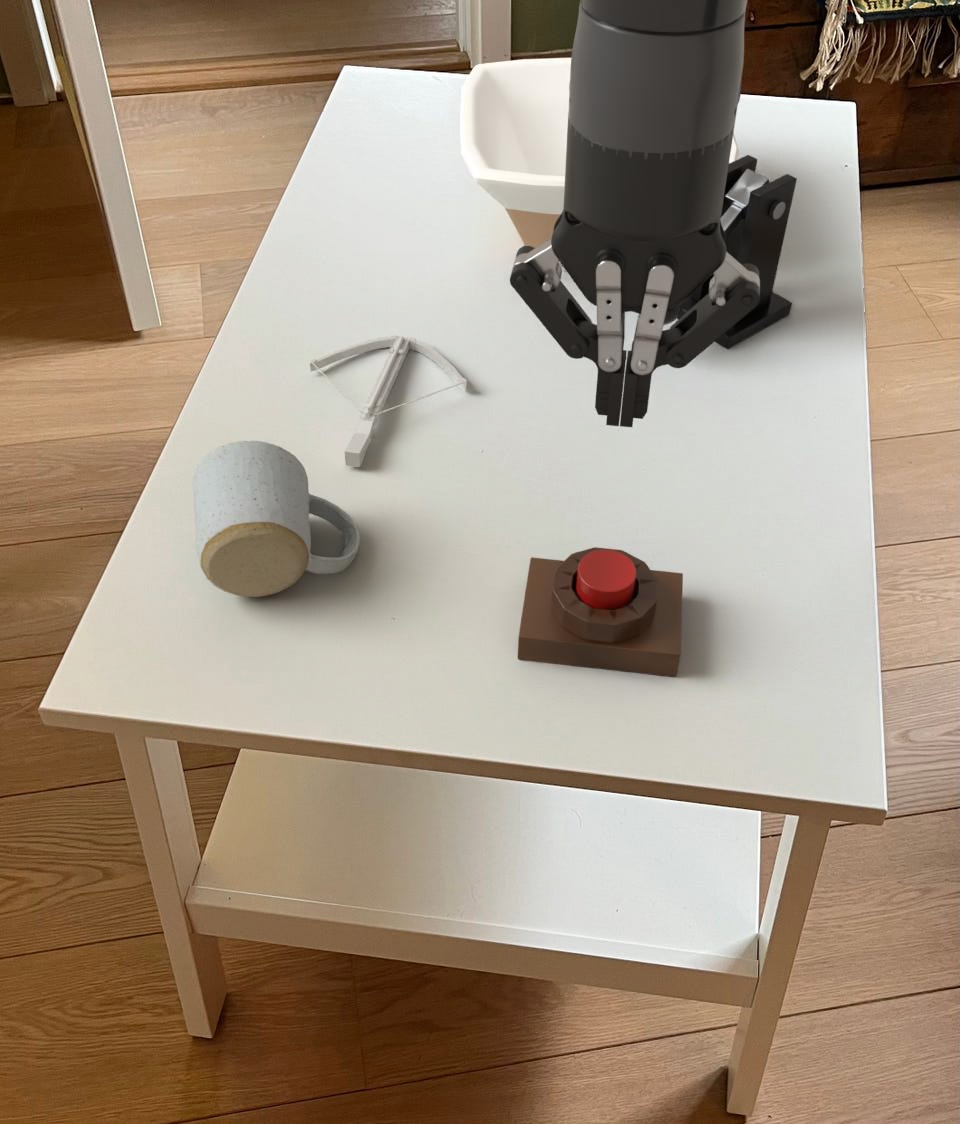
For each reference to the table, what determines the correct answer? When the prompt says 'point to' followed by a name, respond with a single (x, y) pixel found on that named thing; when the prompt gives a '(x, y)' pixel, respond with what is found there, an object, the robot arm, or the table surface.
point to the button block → (601, 620)
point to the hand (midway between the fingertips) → (620, 417)
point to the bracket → (755, 250)
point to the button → (606, 579)
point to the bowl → (521, 139)
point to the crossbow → (381, 385)
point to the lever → (732, 213)
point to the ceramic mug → (261, 520)
